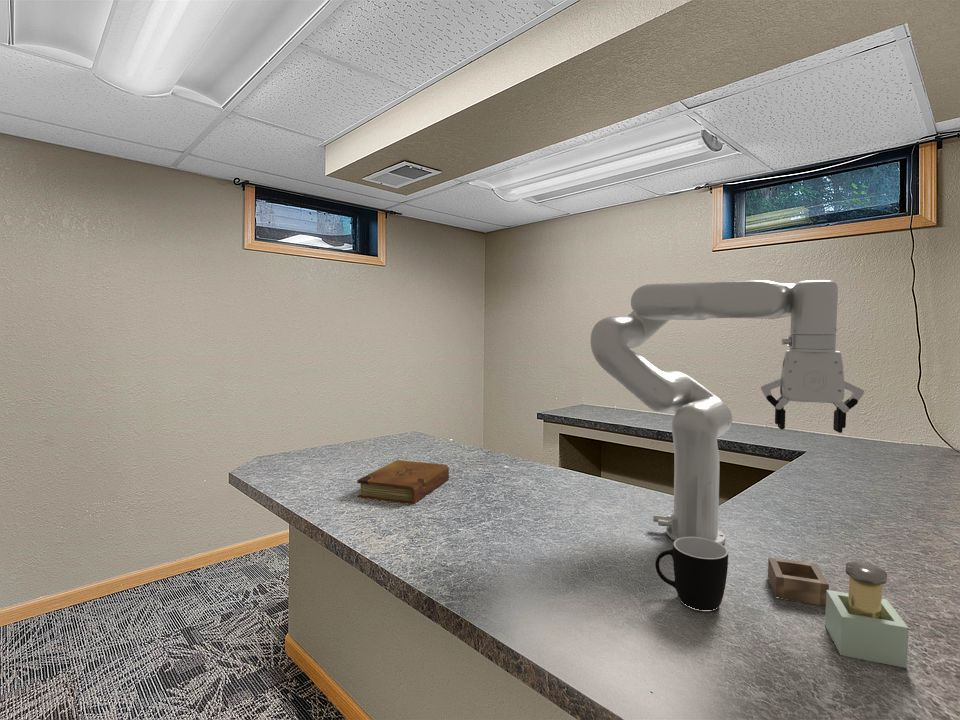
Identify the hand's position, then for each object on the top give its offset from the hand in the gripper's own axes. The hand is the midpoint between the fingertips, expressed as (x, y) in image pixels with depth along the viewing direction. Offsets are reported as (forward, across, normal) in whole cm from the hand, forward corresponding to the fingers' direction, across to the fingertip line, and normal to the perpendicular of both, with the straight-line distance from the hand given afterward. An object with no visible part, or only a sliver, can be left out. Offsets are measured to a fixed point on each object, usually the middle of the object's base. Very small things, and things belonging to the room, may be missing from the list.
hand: (808, 429), depth 100 cm
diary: (+29, -101, +16) cm, 106 cm away
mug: (+28, -22, -21) cm, 42 cm away
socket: (+28, +3, -26) cm, 38 cm away
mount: (+28, -4, -11) cm, 31 cm away
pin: (+28, +2, -25) cm, 38 cm away
